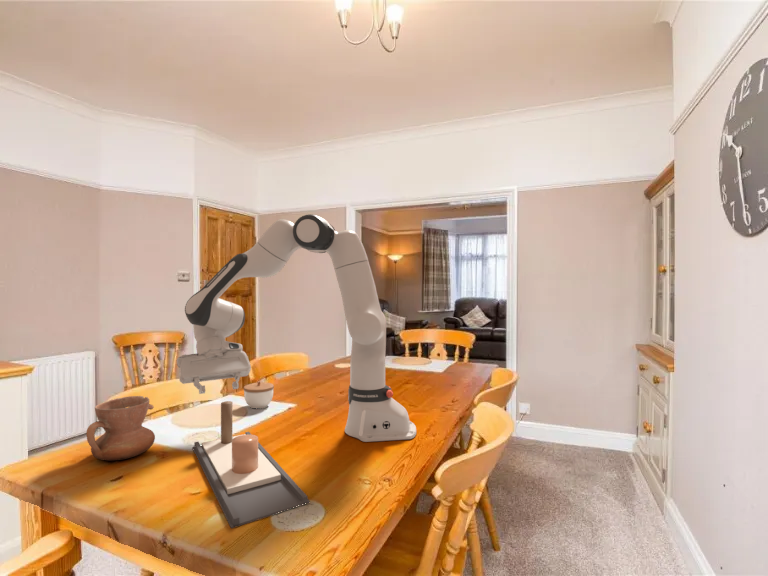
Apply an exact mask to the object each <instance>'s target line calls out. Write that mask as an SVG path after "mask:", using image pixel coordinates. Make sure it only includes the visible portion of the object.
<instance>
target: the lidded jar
mask: <svg viewBox="0 0 768 576" xmlns="http://www.w3.org/2000/svg"><path fill="white" fill-rule="evenodd" d="M274 387H275V385H274V384H273V383H271V382H265V381H264V382H261V381H260V380H258V381H257V382H253V383H248V384H245V385H244V386H243V395H244V401H245V403H246V404H247V405H248V407H249V408H250V407H251V408H250V409H252V408H256V409H255V410H258V409H257V408H262V409H265V408H267V407H268V406H269V404H270V403H271V402H272V400H273V397H274ZM264 407H265V408H264Z"/></svg>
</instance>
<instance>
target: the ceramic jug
mask: <svg viewBox="0 0 768 576" xmlns="http://www.w3.org/2000/svg"><path fill="white" fill-rule="evenodd" d="M153 409H154V405H153V404H150V398H149V397H148V396H145V397H144V396H141V395H131V396H124V397H118V398H114V399H109V400H107V401H104V402H101V403H99V404H97V405H95V406H94V412H95V415H96V418H97V420H98V421H95V422H93V423H91V424H90V425H88V427H87V429H86V440H87V443H88V445H89V447H90V452H91V455H92V456H93V457H94V458H96V459H97V460H101V461H121V460H128V459H130V458H133V457H134V458H135V457H136V456H139V455H141V454H143V453H145V452H146V451H147V450H149V449H150V448H151V447H152V446H153V444H154V442H155V439H156V437H155V436H156V435H155V433H154V431H153V430H152V429H150V428H148V427H145V426H143V423H144V421H145V419H146V416H147V413H148V410H153ZM98 428H102V429H103V430H104V433H103V434H101V435H100V436H99V437H98V438H97V439H96V437H95V433H96V429H98Z"/></svg>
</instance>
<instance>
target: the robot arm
mask: <svg viewBox="0 0 768 576" xmlns="http://www.w3.org/2000/svg"><path fill="white" fill-rule="evenodd" d="M299 249H305V250H307V251H309V252H310V253H315V254H316V253H317V254H323V253H327V254H328V255H329V257H330V258H331V259H330V260H331V261H332V266H333V268H334V272H335V276H336V281H337V284H338V287H339V291H340V295H341V299H342V305H343V306H342V307H343V311H344V316H345V321H346V325H347V328H348V334H349V336H350V337H351V338H352V339H351V353H350V363H349V364H350V366H349V368H350V371H349V376H350V377H349V378H350V379H349V382H350V383H349V386H348V391H347V392H348V394H347V395H348V399H347V401H348V404H349V405H348V406H349V407H348V414H347V420H346V424H345V427H344V432H345V434H346V435H348V436H350V437H353V438H355V439H357V440H360V441H362V442H365V443H367V442H371V443H372V442H385V441H401V440H411V439H413V438H415V437H416V435H417V427H416V426H417V425H415V423H414V422H412V421H411V420H410V416H409V413H408V411H407V409H406V408H405V407H404V406H403V405H402V404H401V403H399V402H398V401H397V400H395V399H394V398H393V395H394V392H393V390H392V388H391V386H390V385H387V384H386V355H387V354H386V352H387V351H386V349H387V347H386V346H387V318H386V315H385V314H384V312H383V311H382V308H381V304H380V300H379V297H378V292H377V287H376V282H375V280H374V275H373V271H372V268H371V266H370V262H369V258H368V255H367V253H366V249H365V247H364V243H362V240H361V238H360V236H359V234H358V233H357V232H355V231H354V230H349V229H345V230H340V231H336V230H335V227H334V226H333V225H332V224H331V223H329V221H328V220H326V219H325V218H323V217H321V216H319V215H316V214H304V215H302V216H300V217H299V218H298V219H297V220H296V221H295V222H292V221H291V220H288V219H283V218H282V219H281V218H280V219H277V220H276V221H275V222H273V223H272V224H271V225H270V226H269V227H268V228H267V229H266V230H265V231H264V233H263V234H262V235H261V236H260V238H259V239H258V240H257V242H256V243H255V244H254V245H253V246H252V247H250V248H249V249H248V250H247V251H244V252H243V253H237V254H236V255H234V256H233V257H232V258H231V259H229V260H228V261H227V263H226V264H224V266H222V267H221V268H220V269H219V271H218V272H217V273H216V274H215V275H214V276H213V277H212V278H210V280H209V281H207V283H206V284H205V285H204V286H203V287H202V288H200V289H199V290H198V291H197V292H195V293H194V294H193V295H192V296H190V298H189V299H188V300H187V302H186V304H185V306H184V313H185V317H186V319H187V320H188V321H189V323H190V324H192V325H193V334H194V335H193V336H194V339H195V341H196V346H195V349H196V353H189V354H181V355H180V356H179V357H177V358H176V365H177V367H178V368H179V373H178V376H179V377H178V379H179V382H180V383H181V384H184V385H185V384H193V386H194V387H195V388H196V389H197V390H198V394H199V395H202V394H206V385H202V384H201V382H209V381H210V382H211V381H216V380H226V379H233V378H234V380H235V381H232V383H231V385H232V386H231V387H232V390H238V389H239V387H240V385H239V381H240V380H241V379H240V378H242V377H248V376H249V374H250V373H251V370H252V367H251V362H250V360H249V356H248V355H247V353H246V352H245V351H244V349H243V344H241V343H237V342H231V341H228V340H226V338H229V337H230V336H232V335H234V334H235V333H237V332H238V331H239V330H241V329H242V328H243V326H244V325H245V320H246V313H245V310H244V307H243V306H241V305H239V304H237V303H234V302H232V301H230V300H229V301H228V300H225V299H223V298H221V296H223V294H224V293H225V292H226V291H227V290H228V289H229V288H230V287H231V286H232V285H233V284H234V283H235V282H236V281H238V280H240V279H244V278H264V279H265V278H271V277H273V276H276V275H277V274H278V273H280V272H281V271H282V270H283V268H284V267H285V266H286V265H287V263H288V261H289V260H290V258H291V257H292V255H294V253H295V252H296V251H297V250H299Z"/></svg>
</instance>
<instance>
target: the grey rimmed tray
mask: <svg viewBox="0 0 768 576" xmlns="http://www.w3.org/2000/svg"><path fill="white" fill-rule="evenodd" d="M244 434H246V435H252V433H251V432H250V431H245V432H244ZM200 445H201V443H200V442H199V441H194V445H193V446H192V450H193V449H194V450H193V452H194V454H196V455H195V456H197V457H196V458H198V459H197V461H198V460H199V461H198V463H199V465H200V467H201V469H202V472H203V473H204V475H205V477H206V479H207V482H208V483H209V485H210V488H211V490H212V492H213V494H214V496H215V498H216V500H217V502H218V504H219V506H220V507H221V510H222V512H223V514H224V517H225V518H226V521H227V522H228V525H229V527H230V529H234V528H237V527H239V526H240V527H241V526H242V525H243V526H244V525H247V524H249V523H253V522H256V521H258V520H262V519H265V518H268V517H271V516H273V514H274V515H277V514H276V513H278V512H281V511H284V510H287V509H290V508H293V507H296V506H298V505H302V504H305V503H309V502H310V500H309V499H308V495H307V494H306V492H304V491H303V490H302V488H301V487H300V486H299V485H298V484H297V483H296V482H295V481H294V480H293V479H292V477H291V476H290V475H289V474H288V473H287V471H285V470H284V468H282V467H281V466H280V464H279V463H278V462H277V461H276V460H275V459H274V458H273V457H272V456H271V454H270V453H269V452H268V451H267V450H266V448H265V447H263V445H261V443H260V442H259V441H258V449H259V450H260V451H261V452H262V453H263V455H264V456H265V457H266V458H267V459H268V460H269V462H270V463H271V464H272V465H273V466H274V467H275V468H276V470H277V471H278V472H279V473H280V474H281V480H278V481H275V482H271V483H267V484H264V485H260V486H257V487H253V488H249V489H246V490H242V491H238V492H235V493H231V494H228V495H227V493H226V491H225V489H224V488H223V486H222V484H221V482H220V480H219V478H218V477H217V475H216V473H215V471H214V469H213V467H212V465H211V464H210V462H209V460H208V458H207V456H206V454H205V452H204V451H203V449H202V446H200ZM309 504H310V503H309ZM305 505H306V504H305ZM302 506H303V505H302ZM296 508H297V507H296ZM293 509H294V508H293ZM290 510H291V509H290ZM287 511H288V510H287ZM284 512H285V511H284ZM281 513H282V512H281ZM278 514H279V513H278Z"/></svg>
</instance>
